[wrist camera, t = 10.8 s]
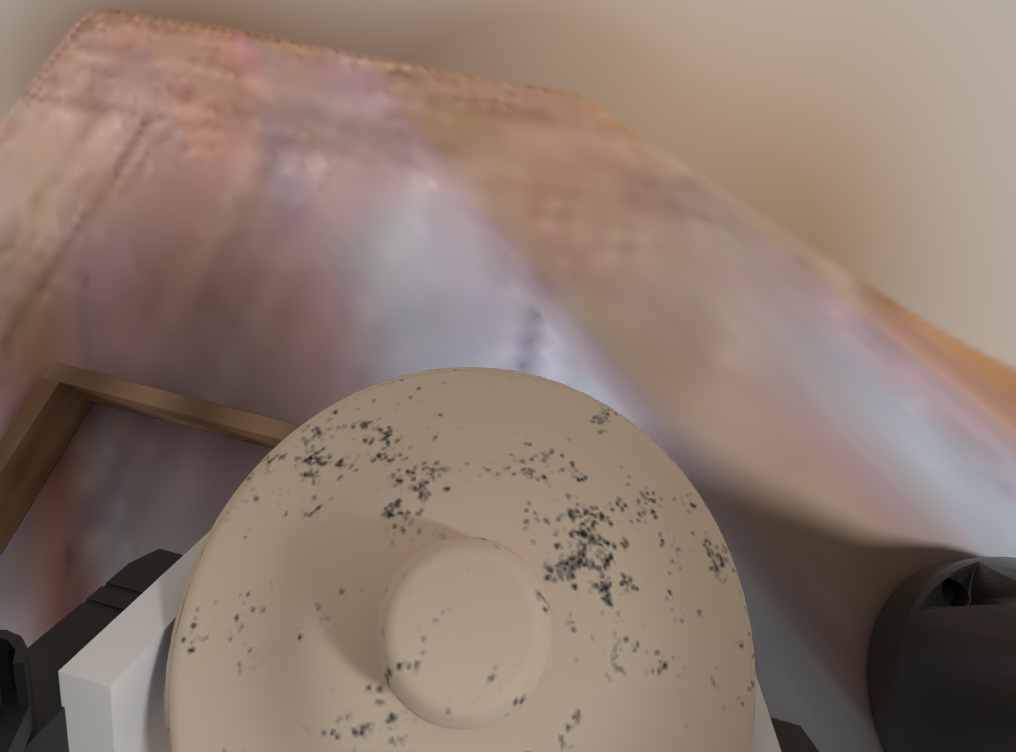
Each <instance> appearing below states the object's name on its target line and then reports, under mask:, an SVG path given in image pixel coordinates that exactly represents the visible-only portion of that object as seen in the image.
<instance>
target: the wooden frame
mask: <svg viewBox="0 0 1016 752" xmlns="http://www.w3.org/2000/svg"><path fill="white" fill-rule="evenodd" d="M93 402H97V403H101V404H105V405H108V406H112V407H116V408H120V409H124V410H128V411H131V412H135V413H139V414H143V415H147V416H150V417H154V418H158V419H162V420H166V421H169V422H173V423H177V424H181V425H185V426H188V427H192V428H196V429H200V430H204V431H207V432H211V433H215V434H219V435H223V436H226V437H230V438H234V439H238V440H242V441H246V442H249V443H253V444H257V445H261V446H265V447H268V448H272V449H274V448H275V447H276V446H277V445H278V444H279V443H280V442H281V441H283V440H284V439H285V438H286V437H287V436H288V435H289V434H290V433H292V432H293V431H294V430H296V429H297V428H298V427H300V425H296V424H292V423H288V422H285V421H281V420H277V419H273V418H269V417H265V416H261V415H258V414H254V413H250V412H246V411H242V410H238V409H234V408H231V407H227V406H223V405H219V404H215V403H211V402H207V401H203V400H200V399H196V398H192V397H188V396H184V395H180V394H176V393H173V392H169V391H165V390H161V389H157V388H153V387H149V386H146V385H142V384H138V383H134V382H130V381H126V380H122V379H119V378H115V377H111V376H107V375H103V374H99V373H95V372H92V371H88V370H84V369H80V368H76V367H72V366H68V365H64V364H61V363H57V362H53V363H52V364H51V366H50V367H49V369H48V370H47V372H46V373H45V375H44V376H43V378H42V379H41V381H40V382H39V384H38V385H37V387H36V388H35V390H34V392H33V393H32V395H31V396H30V398H29V399H28V401H27V402H26V404H25V405H24V407H23V408H22V410H21V411H20V413H19V414H18V416H17V417H16V419H15V420H14V422H13V423H12V425H11V426H10V428H9V429H8V431H7V432H6V434H5V435H4V437H3V438H2V440H1V442H0V555H1V554H2V552H3V550H4V549H5V547H6V545H7V544H8V542H9V541H10V539H11V537H12V536H13V534H14V532H15V531H16V529H17V527H18V526H19V524H20V522H21V521H22V519H23V517H24V516H25V514H26V512H27V511H28V509H29V508H30V506H31V504H32V503H33V501H34V499H35V498H36V496H37V494H38V493H39V491H40V489H41V488H42V486H43V484H44V483H45V481H46V480H47V478H48V476H49V475H50V473H51V471H52V470H53V468H54V466H55V465H56V463H57V461H58V460H59V458H60V456H61V455H62V453H63V451H64V450H65V448H66V447H67V445H68V443H69V442H70V440H71V438H72V437H73V435H74V433H75V432H76V430H77V428H78V427H79V425H80V423H81V422H82V420H83V418H84V417H85V415H86V414H87V412H88V410H89V409H90V407H91V405H92V404H93Z"/></svg>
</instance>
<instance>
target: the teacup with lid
mask: <svg viewBox="0 0 1016 752" xmlns="http://www.w3.org/2000/svg"><path fill="white" fill-rule="evenodd" d="M755 700H756V673H755V653H754V646H753V638H752V630H751V623H750V619H749V614H748V610H747V605H746V600H745V596H744V592H743V589H742V586H741V583H740V579H739V576H738V573H737V570H736V566H735V564H734V562H733V559H732V557H731V554H730V552H729V549H728V547H727V544H726V542H725V539H724V537H723V536H722V534H721V532H720V530H719V528H718V526H717V524H716V522H715V520H714V518H713V516H712V514H711V512H710V511H709V509H708V508H707V506H706V504H705V503H704V501H703V500H702V498H701V496H700V495H699V493H698V492H697V490H696V489H695V488H694V486H693V485H692V484H691V482H690V481H689V479H688V478H687V477H686V475H685V474H684V473H683V471H682V470H681V469H680V468H679V467H678V466H677V465H676V463H675V462H674V461H673V460H672V459H671V458H670V457H669V456H668V454H667V453H666V452H665V451H664V450H663V449H662V448H661V447H660V446H659V445H658V444H656V443H655V442H654V441H653V440H652V439H651V438H650V437H649V436H648V435H647V434H646V433H645V432H643V431H642V430H641V429H639V428H638V427H637V426H636V425H634V424H633V423H632V422H631V421H629V420H628V419H627V418H625V417H624V416H622V415H621V414H619V413H618V412H616V411H615V410H613V409H612V408H610V407H609V406H607V405H605V404H604V403H602V402H600V401H598V400H596V399H594V398H593V397H591V396H589V395H587V394H585V393H583V392H580V391H578V390H576V389H573V388H571V387H569V386H567V385H564V384H561V383H558V382H555V381H552V380H549V379H546V378H543V377H540V376H535V375H531V374H527V373H522V372H518V371H511V370H504V369H497V368H480V367H462V368H445V369H437V370H429V371H423V372H418V373H413V374H409V375H404V376H400V377H397V378H394V379H390V380H387V381H384V382H381V383H378V384H375V385H373V386H370V387H368V388H366V389H363V390H361V391H358V392H356V393H354V394H352V395H350V396H348V397H346V398H344V399H342V400H340V401H338V402H336V403H334V404H333V405H331V406H329V407H328V408H326V409H325V410H323V411H321V412H320V413H318V414H316V415H315V416H313V417H312V418H310V419H309V420H308V421H306V422H305V423H304V424H302V425H301V426H300V427H298V428H297V429H296V430H294V431H293V432H292V433H290V434H289V435H288V436H287V437H286V438H285V439H284V440H283V441H281V442H280V443H279V444H278V445H277V446H276V447H275V448H274V449H272V450H271V451H270V452H269V453H268V454H267V455H266V457H265V458H264V459H263V460H262V461H261V462H260V463H259V464H258V465H257V466H256V467H255V468H254V469H253V470H252V471H251V473H250V474H249V475H248V476H247V478H246V479H245V480H244V481H243V483H242V484H241V485H240V486H239V488H238V489H237V490H236V491H235V493H234V494H233V495H232V497H231V498H230V500H229V501H228V503H227V504H226V506H225V507H224V509H223V510H222V512H221V513H220V515H219V516H218V518H217V520H216V521H215V523H214V525H213V527H212V529H211V530H210V532H209V534H208V536H207V537H206V539H205V541H204V543H203V545H202V547H201V549H200V552H199V554H198V556H197V558H196V560H195V563H194V565H193V567H192V569H191V572H190V575H189V577H188V580H187V583H186V586H185V589H184V592H183V594H182V597H181V600H180V604H179V607H178V611H177V615H176V619H175V623H174V627H173V631H172V636H171V642H170V648H169V654H168V660H167V667H166V680H165V693H164V722H165V740H166V749H167V752H750V751H751V743H752V736H753V728H754V721H755Z"/></svg>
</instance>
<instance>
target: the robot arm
mask: <svg viewBox="0 0 1016 752" xmlns="http://www.w3.org/2000/svg"><path fill="white" fill-rule="evenodd" d="M209 532H210V531H209ZM209 532H208V533H207V534H206V535H205V536H204V537H203V538H202V539H200V540H199V541H198V542H197V543H196V544H195V545H194V546H193V547H192V548H191V549H190V550H189V551H188V552H186V553H185V554H184V555H180V554H176V553H173V552H169V551H166V550H162V549H158V550H156V551H154V552H152V553H150V554H148V555H145V556H143V557H141V558H139V559H137V560H135V561H133V562H131V563H129V564H128V565H127V566H126V567H124V568H123V569H122V570H121V571H120V572H118V573H117V574H116V575H115V576H114V577H112V578H111V579H110V580H109V581H108V582H106V585H105V586H104V587H100V588H99V589H98V590H97V591H96V592H94V593H93V594H92V595H91V596H90V597H88V598H87V600H86V602H85V603H81V604H80V605H79V606H78V607H76V608H75V609H74V610H73V611H72V612H70V613H69V614H68V615H67V616H66V617H64V618H63V619H62V620H61V621H60V622H58V623H57V624H56V625H55V626H54V627H52V628H51V629H50V630H49V631H48V632H46V633H45V634H44V635H43V636H42V637H40V638H39V639H38V640H37V641H36V642H34V643H33V644H32V645H31V646H30V647H28V648H27V647H26V645H25V643H24V641H23V639H22V637H21V636H19V635H17V634H14V633H12V632H10V631H8V630H0V752H165V751H166V750H167V749H166V740H165V722H164V693H165V680H166V667H167V660H168V654H169V648H170V642H171V636H172V631H173V627H174V623H175V619H176V615H177V611H178V607H179V604H180V600H181V597H182V594H183V592H184V589H185V586H186V583H187V580H188V577H189V575H190V572H191V569H192V567H193V565H194V563H195V560H196V558H197V556H198V554H199V552H200V549H201V547H202V545H203V543H204V541H205V539H206V537H207V536H208V534H209ZM868 678H869V691H870V700H871V705H872V711H873V715H874V719H875V723H876V727H877V730H878V733H879V737H880V740H881V742H882V745H883V748H884V750H885V752H1016V558H1010V557H980V558H972V559H965V560H958V561H951V562H945V563H941V564H937V565H934V566H931V567H929V568H926V569H924V570H922V571H920V572H918V573H916V574H915V575H913V576H912V577H910V578H909V579H908V580H906V581H905V582H904V583H903V584H902V585H901V586H900V587H899V588H898V589H897V590H896V591H895V592H894V593H893V594H892V596H891V597H890V598H889V600H888V601H887V603H886V604H885V606H884V608H883V610H882V611H881V614H880V616H879V618H878V620H877V623H876V626H875V629H874V632H873V636H872V640H871V646H870V652H869V665H868ZM750 752H819V751H818V750H817V748H816V747H815V745H814V744H813V743H812V741H811V740H810V739H809V737H808V736H807V734H806V733H805V732H804V730H803V729H802V728H801V726H799V725H795V724H792V723H788V722H785V721H781V720H777V719H774V718H770V715H769V712H768V709H767V706H766V703H765V700H764V697H763V694H762V691H761V688H760V685H759V682H758V679H757V676H756V700H755V721H754V728H753V736H752V743H751V751H750Z"/></svg>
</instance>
